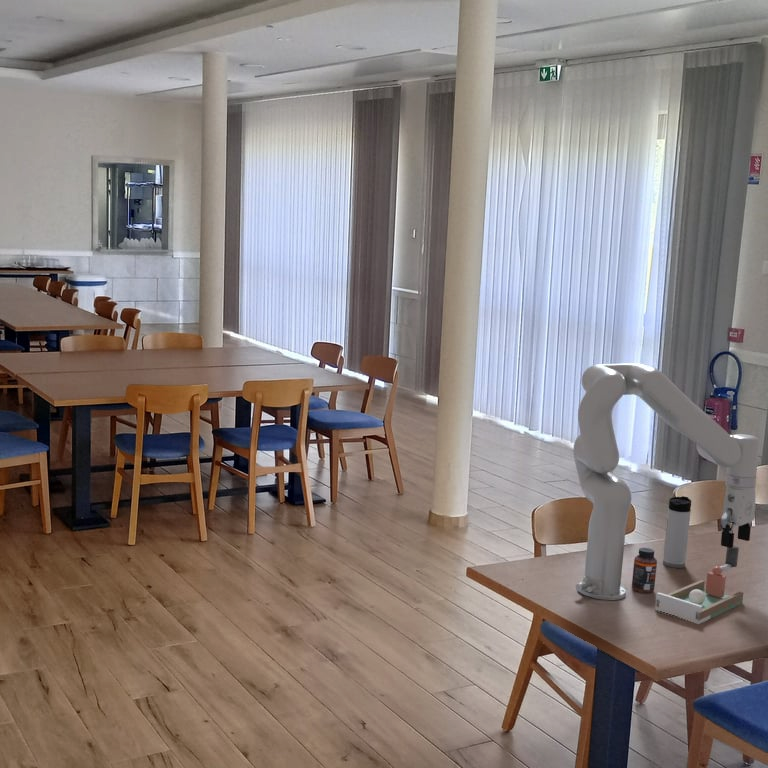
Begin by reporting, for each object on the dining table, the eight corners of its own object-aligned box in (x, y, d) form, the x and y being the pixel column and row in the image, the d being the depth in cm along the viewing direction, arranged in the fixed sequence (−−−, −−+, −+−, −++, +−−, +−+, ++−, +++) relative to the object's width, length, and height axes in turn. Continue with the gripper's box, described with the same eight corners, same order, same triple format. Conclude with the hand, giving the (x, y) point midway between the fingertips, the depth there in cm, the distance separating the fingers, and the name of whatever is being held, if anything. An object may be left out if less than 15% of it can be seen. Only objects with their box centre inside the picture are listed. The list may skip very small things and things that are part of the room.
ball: (699, 608, 262) (701, 593, 261) (685, 604, 264) (686, 589, 264) (707, 605, 264) (708, 590, 264) (692, 600, 267) (694, 585, 267)
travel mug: (689, 565, 301) (696, 498, 298) (679, 569, 296) (685, 502, 293) (669, 559, 305) (676, 494, 302) (659, 564, 300) (665, 497, 297)
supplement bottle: (652, 595, 272) (657, 554, 271) (630, 591, 274) (634, 550, 273) (655, 588, 278) (659, 548, 276) (632, 585, 280) (636, 545, 278)
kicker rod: (720, 598, 269) (724, 555, 267) (704, 593, 272) (709, 551, 270) (738, 589, 277) (743, 548, 275) (723, 585, 280) (727, 544, 278)
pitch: (698, 624, 253) (700, 606, 253) (655, 610, 261) (656, 593, 261) (742, 603, 270) (744, 586, 270) (700, 590, 279) (701, 574, 278)
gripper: (739, 488, 264) (733, 553, 267) (768, 479, 276) (762, 540, 279) (712, 483, 269) (706, 546, 272) (741, 473, 282) (736, 534, 284)
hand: (735, 543), depth 275 cm, fingers open, 9 cm apart
